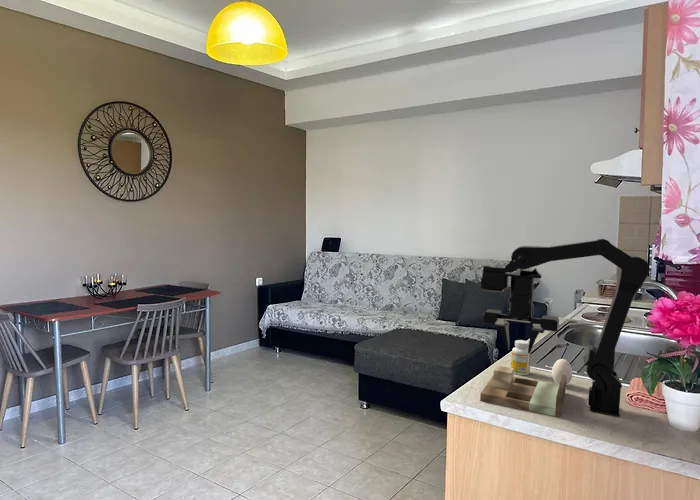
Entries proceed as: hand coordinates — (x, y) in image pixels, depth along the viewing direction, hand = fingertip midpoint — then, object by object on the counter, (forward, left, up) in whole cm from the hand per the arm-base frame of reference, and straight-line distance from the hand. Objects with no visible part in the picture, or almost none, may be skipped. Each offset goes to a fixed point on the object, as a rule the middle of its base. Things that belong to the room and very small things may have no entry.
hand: (518, 351), depth 127 cm
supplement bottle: (+2, -20, -12) cm, 24 cm away
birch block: (+4, 0, -10) cm, 11 cm away
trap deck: (-2, 0, -12) cm, 12 cm away
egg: (-10, -15, -12) cm, 22 cm away
